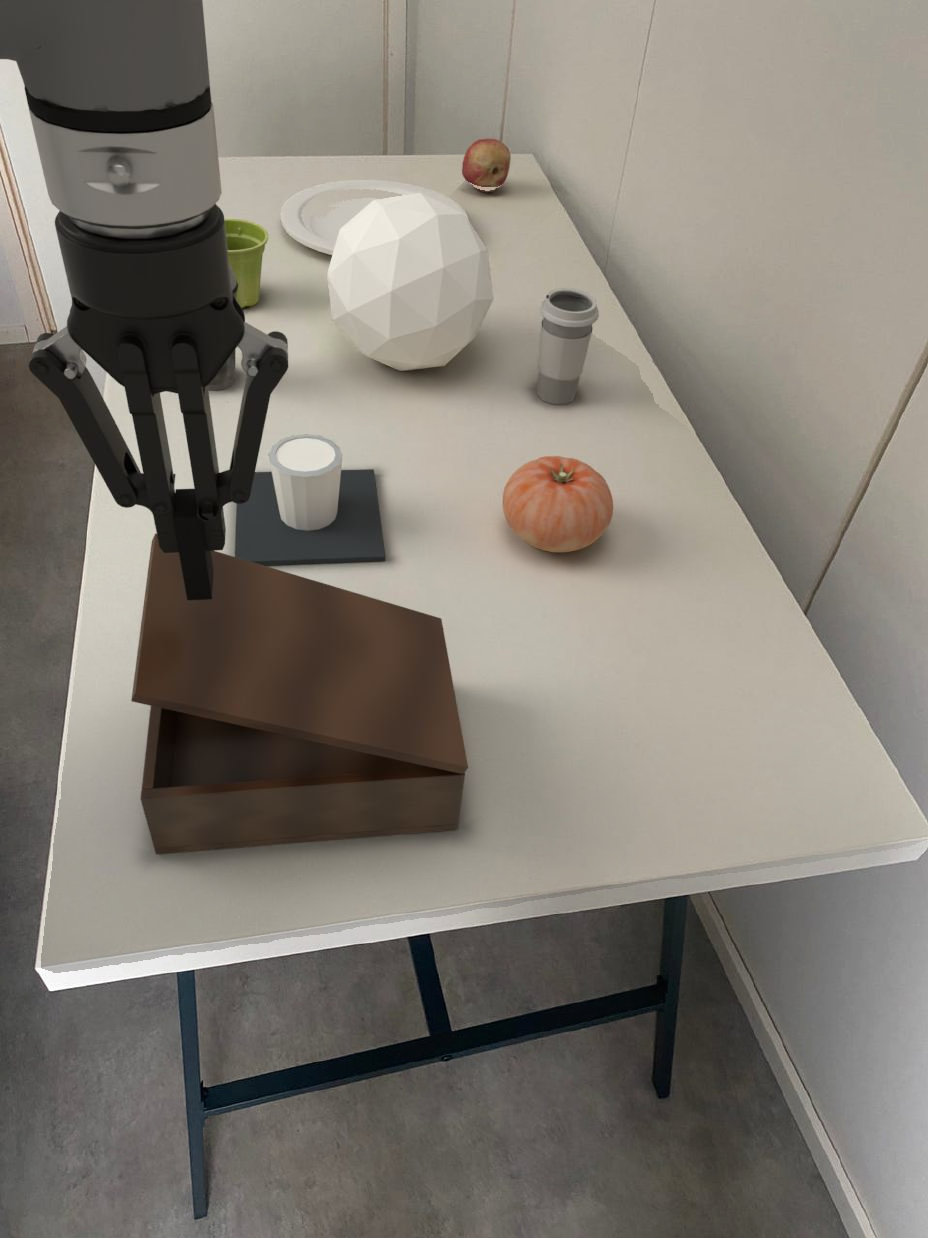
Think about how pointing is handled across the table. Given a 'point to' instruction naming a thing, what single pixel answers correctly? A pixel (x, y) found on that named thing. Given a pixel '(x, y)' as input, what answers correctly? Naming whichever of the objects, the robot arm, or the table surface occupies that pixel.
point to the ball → (409, 282)
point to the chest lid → (298, 661)
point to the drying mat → (336, 543)
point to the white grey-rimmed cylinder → (306, 480)
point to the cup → (564, 342)
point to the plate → (341, 210)
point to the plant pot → (246, 257)
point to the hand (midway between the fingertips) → (200, 584)
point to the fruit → (486, 163)
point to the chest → (279, 788)
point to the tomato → (557, 504)
